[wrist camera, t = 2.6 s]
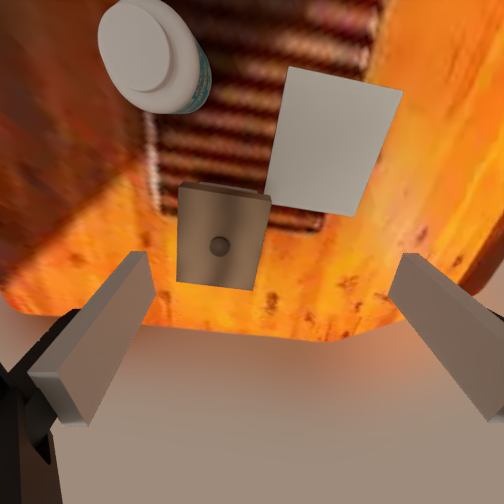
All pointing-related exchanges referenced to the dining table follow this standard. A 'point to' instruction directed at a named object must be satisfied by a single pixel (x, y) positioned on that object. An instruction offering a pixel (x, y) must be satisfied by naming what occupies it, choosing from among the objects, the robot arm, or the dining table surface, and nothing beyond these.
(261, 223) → the cover
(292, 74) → the mat
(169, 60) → the pill bottle
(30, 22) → the dining table surface
